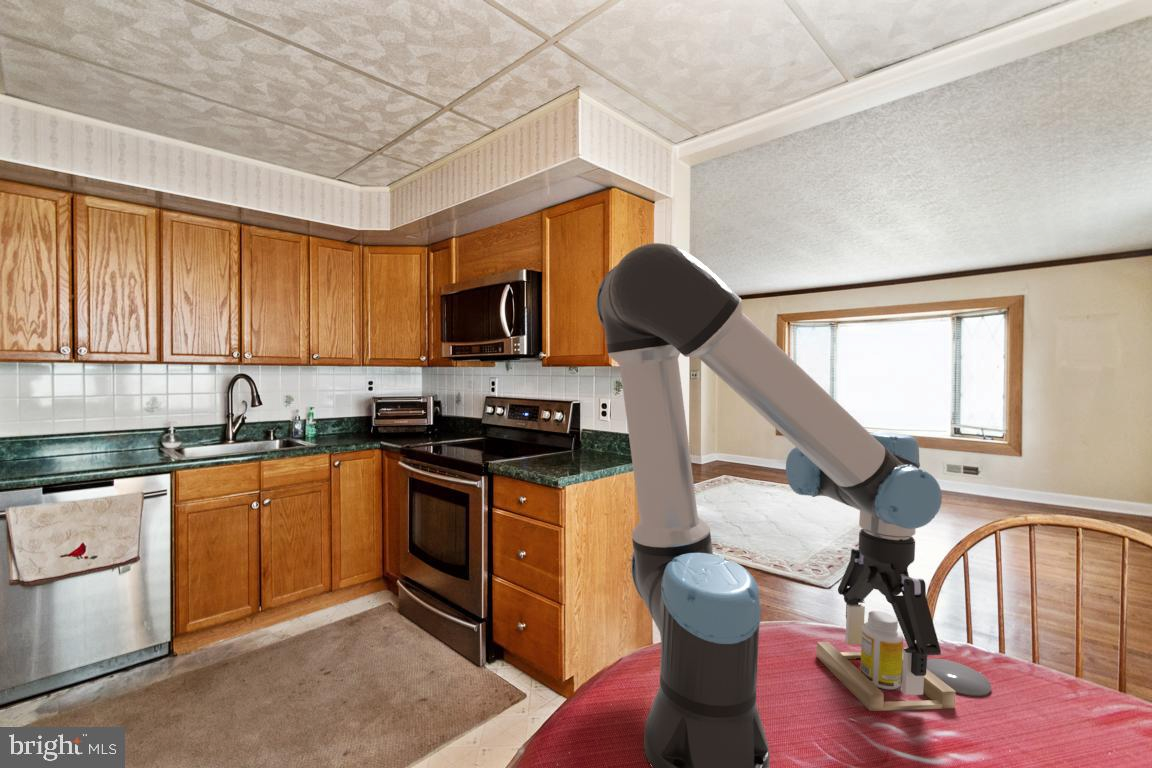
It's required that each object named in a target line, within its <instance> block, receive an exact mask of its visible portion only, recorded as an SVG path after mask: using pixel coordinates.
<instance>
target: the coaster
mask: <svg viewBox="0 0 1152 768" xmlns="http://www.w3.org/2000/svg"><path fill="white" fill-rule="evenodd" d="M927 670H929V671H930V672H931V673H933V674H934V675H935V676H937V677H938V678H939V679H940V680H942V681H943V682H944V683H946V684H947V685H948V686H949V687H951V688H952V689H953V690H955V691H956V693H957V694H961V695H965V696H970V697H971V696H972V697H983V696H984V697H985V696H987V695H989V694H990V693H991V690H992V684H991V682H990V681H989V679H988V678H987V677H986V676H985V675H984V674H982V673H981V672H979V671H978V670H975V669H974V668H972V667H970V666H967V665H965V664H962V663H959V662H956V661H953V660H949V659H941V658H929V659H928V658H927Z"/></svg>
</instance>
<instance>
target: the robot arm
mask: <svg viewBox="0 0 1152 768" xmlns="http://www.w3.org/2000/svg"><path fill="white" fill-rule="evenodd" d="M742 307H743V299H742V298H741V297H740V296H739V295H738V294H737V293H736V292H734V291H733V289H731V288H730V287H729V286H728V285H727V284H726V283H725V282H724V281H723V280H721V279H720V278H719V277H718V276H717V275H716V274H715V273H714V272H713V271H712V270H711V269H709V268H708V267H707V266H706V265H705V264H703V263H702V262H701V261H700V260H699V259H697V258H696V257H694V256H693V255H692V254H690V253H689V252H687V251H685V250H684V249H681V248H679V247H677V246H674V245H672V244H668V243H659V242H658V243H656V242H655V243H654V242H652V243H648V244H643V245H641V246H638V247H636V248H633V250H631V251H629V252H627V253H626V255H624V256H623V257H622V259H621V260H619V262H618V263H617V264H616V265H615V266H613V267H612V269H610V270H609V271H608V272H607V274H606V275H605V276H604V278H603V279H602V281H601V282H600V285H599V289H598V291H597V294H596V311H597V312H596V313H597V316H598V317H599V321H600V323H601V324H602V327H603V328H604V335H605V341H606V349H607V355H608V357H609V358H611V359H612V360H614V361H615V362H616V363H617V364H618V365H619V370H620V377H621V385H622V392H623V401H624V408H625V417H626V423H627V431H628V432H627V433H628V439H629V447H630V454H631V455H630V456H631V461H632V469H633V470H632V471H633V477H634V485H635V492H636V501H637V509H638V515H639V522H638V524H637V525H636V526H635V528H633V529H632V532H631V541H632V548H633V552H632V557H631V560H630V561H631V565H630V566H631V567H630V568H631V569H630V571H631V578H632V581H633V584H634V585H633V586H634V587H635V590H636V591H637V593H638V595H639V596H640V598H641V599H642V601H643V603H644V604H645V606H646V608H647V610H648V612H649V614H650V616H651V618H652V620H653V622H654V623H655V627H657V629H658V632H659V635H660V663H659V665H660V666H659V667H660V668H659V670H660V671H659V673H660V674H659V687H658V689H657V692H656V694H655V697H654V699H653V702H652V705H651V708H650V709H649V712H648V715H647V718H646V720H645V721H646V722H645V726H644V735H643V737H644V738H643V750H644V749H645V751H644V755H645V754H646V755H645V757H647V758H646V760H647V759H648V761H649V763H650V764H651V765H652V767H653V768H770V762H771V761H770V757H771V755H770V748H769V743H768V740H767V736H766V733H765V730H764V726H763V723H762V718H761V716H760V712H759V709H758V705H757V687H758V666H759V665H758V663H759V661H758V660H759V641H760V639H759V638H760V624H761V619H762V618H761V617H762V613H761V612H762V606H761V604H760V591H759V590H760V589H759V587H758V586H759V585H758V583H757V581H756V579H755V578H754V576H753V575H752V574H751V572H749V571H748V569H746V568H745V567H744V566H742V565H741V564H739V563H737V562H735V561H734V560H727V559H726V557H724V556H720V555H716V554H714V552H713V544H712V543H713V541H712V537H711V536H712V535H711V529H710V525H709V524H708V523H707V522H705V521H704V520H703V519H701V518H700V517H699V516H698V507H697V500H696V492H695V485H694V475H693V469H692V460H691V452H690V445H689V435H688V428H687V420H686V411H685V405H684V404H685V403H684V396H683V389H682V381H681V372H680V370H681V369H680V363H679V357H680V355H681V354H682V356H684V357H686V358H690V357H692V358H693V357H695V358H698V359H699V360H700V361H701V362H703V363H704V364H705V366H707V367H708V368H709V369H710V371H712V372H714V374H715V375H716V376H718V377H719V378H720V379H721V380H722V381H723V382H724V383H725V384H727V385H728V387H730V389H732V390H733V391H734V392H736V394H738V396H740V397H741V398H742V399H743V400H744V401H745V402H746V404H748V405H749V406H750V407H752V408H753V409H754V410H755V411H756V412H757V413H758V414H759V415H760V416H762V417H763V419H764V420H766V421H767V422H768V423H769V424H771V426H772V427H774V428H775V429H776V430H777V431H778V432H779V433H780V434H782V436H784V438H785V439H787V440H788V441H789V443H791V444H792V445H793V446H794V447H793V448H792V449H791V450H790V452H789V453H788V455H787V458H786V462H785V476H786V480H787V482H788V485H789V487H790V489H791V490H792V491H793V492H794V493H795V494H797V495H800V496H809V497H812V498H816V497H819V496H820V497H821V496H822V497H828V498H830V499H832V500H834V501H836V502H839V503H842V504H844V505H846V506H849V507H851V508H853V509H856V510H858V511H859V521H858V522H859V523H858V525H859V527H860V528H861V529H860V530H859V533H858V548H851V550H850V557H849V562H848V565H847V567H846V568H845V571H844V573H843V577H842V578H841V581H840V583H839V585H838V588H837V592H838V595H842V596H843V600H844V603H846V604H845V639H844V641H845V643H846V644H847V645H862V626H863V624H865V614H866V613H865V612H866V610H865V609H866V608H865V606H866V605H864V604H863V603H865V604H866V602H865V599H866V598H867V597H868V596H869V595H870V594H871V593H872V591H874V590H876V591H879V593H880V594H881V595H883V596H884V597H885V599H886V601H887V602H888V603H889V604H890V605H891V607H892V609H893V612H894V615H895V617H896V618H897V620H898V624H899V627H900V629H901V630H900V631H901V633H902V635H903V638H904V639H905V643H906V645H907V647H903V651H904V652H903V674H902V679H901V693H902V694H903V695H905V696H922V695H924V693H923V687H924V676H925V675H926V669H927V659H928V656H940V655H941V654H942V650H941V646H940V642H939V639H938V637H937V636H938V635H937V632H936V629H935V624H934V621H933V617H932V614H931V611H930V610H931V609H930V607H929V602H928V599H927V594H926V593H927V591H926V589H927V588H926V582H925V579H923V578H914V577H911V576H910V575H909V571H908V568H909V566H911V564H913V563H914V561H915V553H916V539H915V538H914V536H915V534H916V529H919V528H923V527H924V526H926V525H928V524H929V523H930V522H932V521H933V519H934V518H935V516H936V515H938V513H939V512H940V510H941V507H942V506H941V505H942V499H943V496H942V489H941V487H940V485H939V482H938V481H937V479H936V478H935V476H933V475H932V474H931V473H929V471H926V470H923V469H920V467H921V463H920V447H919V446H920V445H919V441H918V440H917V438H915V437H914V436H912V435H909V434H905V433H897V432H895V433H894V432H884V431H874V432H873V431H872V432H869V431H868V430H867V429H866V428H865V427H864V426H863V425H862V424H861V423H859V422H858V421H857V420H856V419H855V418H854V417H853V416H852V415H851V414H850V413H849V412H848V411H847V410H846V409H845V408H844V407H843V406H842V405H840V403H839V402H837V400H835V399H834V398H833V396H832V395H830V394H829V393H828V392H827V391H826V390H825V389H824V388H823V387H821V385H820V384H819V383H817V382H816V380H814V379H813V378H812V377H811V376H810V374H808V373H807V372H806V371H805V370H804V369H803V368H802V367H801V366H799V365H798V363H797V362H796V361H794V360H793V359H792V358H791V357H790V356H789V355H788V354H787V353H786V352H785V351H783V349H782V348H781V347H779V346H778V344H776V343H775V342H774V341H773V340H772V339H771V338H770V337H769V336H768V335H767V334H766V333H765V332H764V331H763V330H762V329H761V328H759V326H757V324H755V322H753V321H752V320H751V319H750V318H749V317H748V316H747V315H746V314H744V313H743V311H742V309H743V308H742ZM900 594H902V595H900ZM859 603H860V604H859ZM648 761H647V762H648ZM649 763H648V764H649Z"/></svg>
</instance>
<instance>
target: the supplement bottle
mask: <svg viewBox="0 0 1152 768" xmlns="http://www.w3.org/2000/svg"><path fill="white" fill-rule="evenodd" d="M898 624H899V622H898V620H897V617H896V615H895V616H894V615H892V614H890V613H889V612H885V611H881V610H872V611H869V612H868V616H867V622H864V624H863V626H862V644H860V645H861V648H860V649H861V651H860V652H861V659H860V672H861V673H862V674H863V675H865V676H866V677H867V678H868V679H869V680H870V681H871V682H872V683H873V684H874V685H875V686H876V687H877V688H878V689H879V688H880V689H884V690H895V689H896V690H897V689H898V688H900V687H901V686H902V653H903V651H904V647H903V646H904V635H903V632H902V631H901V630H900V629H898V628H899V626H898Z"/></svg>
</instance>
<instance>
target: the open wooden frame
mask: <svg viewBox="0 0 1152 768" xmlns="http://www.w3.org/2000/svg"><path fill="white" fill-rule="evenodd" d="M903 652H904V650H903ZM816 657H817V659H818V660H819V661H820V662H821V663H822V664H823V665H824V666H825V667H826V668H827V669H828V670H829V671H830V672H831V673H832V674H833V675H834V676H835V677H836V678H837V679H838V680H839V681H840V682H841V683H842V684H843V685H844V687H846V689H848V690H849V691H850V693H852V694H853V695H854V696H855V698H857V699H858V701H859V702H860V703H861V704H863V706H864V707H865V708H866V709H867V710H868V711H869V712H881V711H906V710H907V711H911V710H939V709H941V710H942V709H947V710H948V709H955V708H956V695H957V694H956V691H955V690H953V689H952V688H951V687H949V686H948V685H947V684H946V683H944V682H943V681H942V680H940V679H939V678H938V677H937V676H935V675H934V674H933V673H931V672H930V671H929V670H927V669H926V675H925V676H924V687H923V695H925V696H926V697H927V698H929V699H928V700H927V699H926V700H901V701H896V700H895V701H884V699H885V698H884V696H885V695H884V692H883V691H882V690H881V688H880V689H879V687H876V686H875V685H874V684H873V683H872V682H871V681H870V680H869V679H868V678H867V677H866V676H865V675H863V674H862V673H861V670H859V669H858V668H857V667H856V666H855V665H854V664H853V663H852V662H851V661H850V660H857V659H856V658H861V651H845V652H843V651H842V652H841V651H839V650H838V649H837V648H836V647H835V646H834V645H833V644H832V643H830V642H829V641H816ZM902 674H903V653H902Z"/></svg>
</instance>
